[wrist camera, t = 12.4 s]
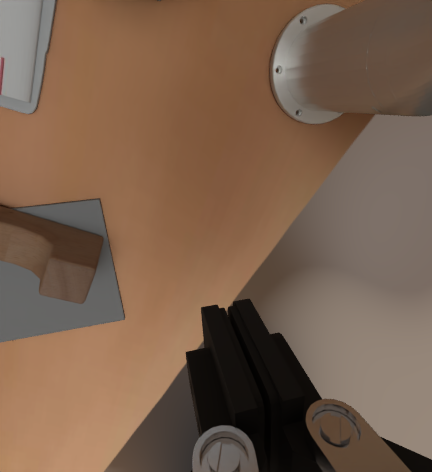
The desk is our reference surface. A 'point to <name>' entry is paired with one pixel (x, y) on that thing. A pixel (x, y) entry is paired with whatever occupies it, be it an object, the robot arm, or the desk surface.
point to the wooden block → (51, 253)
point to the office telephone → (24, 51)
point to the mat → (51, 309)
